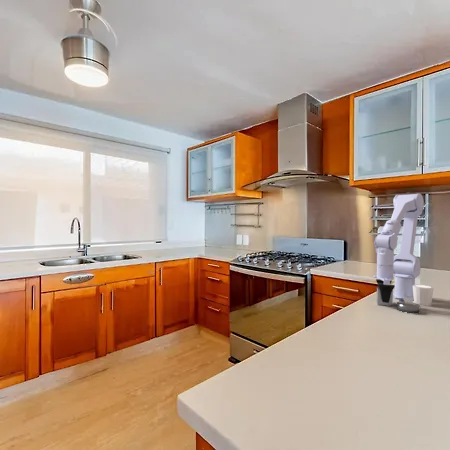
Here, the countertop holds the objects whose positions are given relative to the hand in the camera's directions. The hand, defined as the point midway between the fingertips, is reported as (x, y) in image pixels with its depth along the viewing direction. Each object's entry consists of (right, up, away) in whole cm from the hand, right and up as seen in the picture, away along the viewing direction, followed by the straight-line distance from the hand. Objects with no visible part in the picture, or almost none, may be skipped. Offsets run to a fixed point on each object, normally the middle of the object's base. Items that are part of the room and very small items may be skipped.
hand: (384, 299), depth 115 cm
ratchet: (+5, -2, -5) cm, 8 cm away
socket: (0, -2, 0) cm, 2 cm away
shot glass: (+16, -2, +1) cm, 16 cm away
